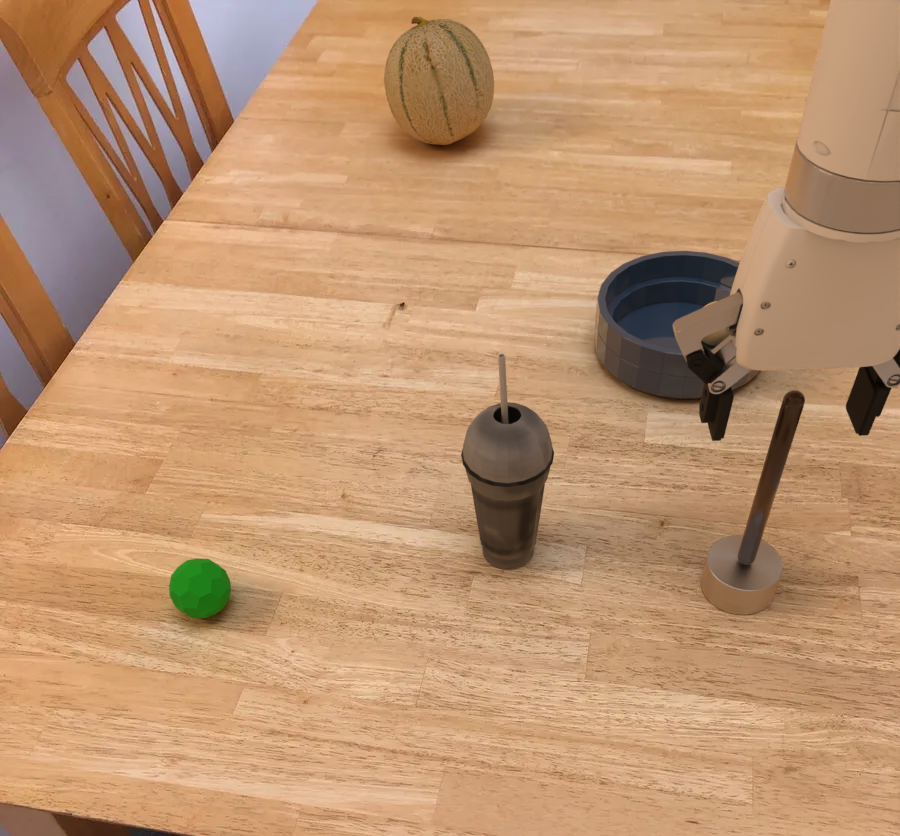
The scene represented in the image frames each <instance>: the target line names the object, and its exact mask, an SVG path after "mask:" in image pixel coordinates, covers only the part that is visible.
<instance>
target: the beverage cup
mask: <svg viewBox="0 0 900 836" xmlns="http://www.w3.org/2000/svg"><path fill="white" fill-rule="evenodd" d="M497 358H498V359H497V360H498V376H499V378H498V379H499V394H500V395H499V396H500V403H496V404H493V405H490V406H488V407H485V409H483V410H482V411H480V412H479V413H478V414H477V415H476V416H475V417H474V419H473V420H472V421H471V422H470V424H469V425H468V427H467V430H466V433H465V435H464V436H465V437H464V440H463V444H462V450H461V453H460V457H461V462H462V466H463V467H464V469H465V473H466V476H467V479H468V482H469V483H470V488H471V493H472V500H473V506H474V511H475V517H476V524H477V529H478V536H479V541H480V546H481V547H482V555H483V558H484V559H485V560H486V562H487V563H488V564H490V565H491V566H492V567H494V568H497V569H500V570H507V571H508V570H509V571H510V570H517V569H519V568H521V567H524V566H526V565H527V564H528V563H529V562H530V561H531V559H532V558H533V557H534V553H535V552H534V551H535V547H536V543H537V538H538V531H539V526H540V525H539V524H540V519H541V513H542V505H543V499H544V493H545V486H546V483H547V480H548V478H549V475H550V470H551V467H552V465H553V464H554V457H555V451H554V447H553V442H552V439H551V435H550V432H549V428H548V427H547V424H546V423H545V422H544V420H543V419H542V418H541V417H540V415H539V414H538V413H537V412H536V411H534V410H533V409H531V408H529V407H528V406H526V405H523V404H520V403H517V402H508V388H507V387H508V385H507V367H506V354H505V353H499V354H498V355H497Z"/></svg>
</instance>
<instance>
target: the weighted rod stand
mask: <svg viewBox="0 0 900 836" xmlns="http://www.w3.org/2000/svg"><path fill="white" fill-rule="evenodd" d="M805 403H806V397H805V395H804V393H803V392H802V391H800V390H798V389H792V390H789V391H787V392H786V393H785V394H784V395H783V398H782V400H781V405H780V409H779V411H778V415H777V418H776V422H775V426H774V429H773V431H772V435H771V438H770V443H769V446H768V449H767V451H766V452H767V453H766V456H765V459H764V463H763V466H762V469H761V473H760V477H759V481H758V483H757V486H756V489H755V493H754V497H753V500H752V505H751V508H750V511H749V515H748V518H747V521H746V525H745V528H744V532H743V534H733V535H728V536H724V537H722V538H720V539H718V540H717V541H716V542H714V543H713V544H712V545H711V547H710V548H709V549H708V552H707V555H706V559H705V562H704V566H703V571H702V574H701V579H700V586H701V589H702V593H703V595H704V596H705V598H706V599H707V600H708V602H709V603H710V604H712V605H713V606H714V607H715V608H717V609H718V610H721V611H723V612H725V613H728V614H733V615H738V616H747V615H753V614H756V613H759V612H762V611H763V610H765V609H766V608H767V607H769V606H770V604H772V602H773V600H774V598H775V595H776V592H777V588H778V586H779V583H780V580H781V577H782V575H783V572H784V571H783V570H784V564H783V560H782V557H781V555H780V554H779V552H778V550H777V549H776V548H774V546H772V545H771V544H770V543H768V542H767V541H765V540H763V536H764V532H765V531H766V527H767V523H768V520H769V518H770V513H771V510H772V508H773V505H774V502H775V499H776V495H777V491H778V489H779V485H780V482H781V479H782V476H783V474H784V469H785V467H786V463H787V461H788V457H789V454H790V450H791V448H792V444H793V441H794V438H795V435H796V431H797V429H798V425H799V422H800V419H801V416H802V412H803V409H804V407H805Z"/></svg>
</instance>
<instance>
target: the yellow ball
mask: <svg viewBox="0 0 900 836" xmlns="http://www.w3.org/2000/svg"><path fill="white" fill-rule="evenodd" d="M715 302H717V301H715ZM715 302H711V303H709V304H707V305H705V306H704V307H706V306H708V305H710V304H712V303H715ZM732 333H733V332H726V329H725V328H724V329H722V330H720V331H717V332H715V333H713V334H711V335H708V336H706V337H704V338H703V339H702V341H703V342H704V343H706V344H708V345H711V346H717V345H719V344H720V343H721V342H722V341H723V340H725V339H726V338H727V337H728V336H729V335H731V334H732Z"/></svg>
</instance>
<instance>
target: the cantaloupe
mask: <svg viewBox="0 0 900 836" xmlns="http://www.w3.org/2000/svg"><path fill="white" fill-rule="evenodd" d="M410 22H411V25H412V24H413V25H414V24H416V25H415V26H412V27H410V29H408V30H406V31H405V32H404V33H402V34H401V35H400V36H399V37H398V38H397V39H396V41H395V42H394V43H393V44H392V47H391V48H390V50H389V52H388V55H387V58H386V61H385V66H384V73H383V76H384V77H383V83H384V89H385V90H384V91H385V96H386V100H387V103H388V107H389V109H390V112H391V113H392V116H393V118H394V119H395V121H396V123H397V124H398V125H399V126H400V128H401V129H402V130H403V131H404V132H405V133H407V134H408V135H409V136H410V137H411V138H413V139H415V140H417V141H419V142H422V143H424V144H428V143H429V144H430V145H440V146H448V145H451V144H453V143H456V142H458V141H460V140H462V139H464V138H466V137H467V136H469V135H471V134H472V133H474V132H475V131H476V130H478V129H479V128H480V127H481V126H482V124H483V123H484V121H485V120H486V118H487V117H488V115H489V113H490V111H491V108H492V105H493V100H494V95H495V76H494V69H493V66H492V62H491V59H490V56H489V54H488V51H487V49H486V47H485V46H484V43H483V42H482V41H481V39H480V38H479V37H478V36H477V34H476V33H475V32H473V30H471V28H470V27H468V26H467V25H465V24H463V23H461V22H459V21H457V20H453V19H448V18H444V19H443V18H439V19H431V20H427V19H424V18H423V17H422V16H413V17H412V18H411V21H410Z"/></svg>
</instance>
